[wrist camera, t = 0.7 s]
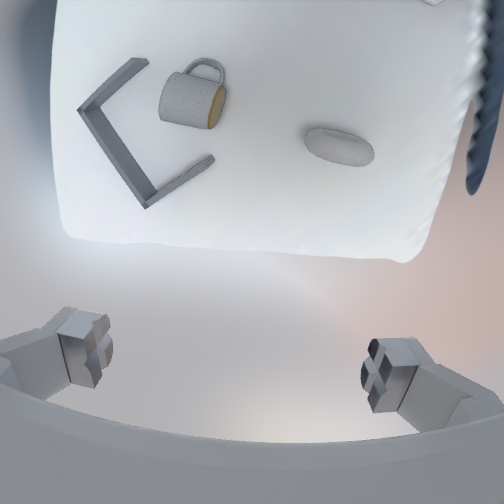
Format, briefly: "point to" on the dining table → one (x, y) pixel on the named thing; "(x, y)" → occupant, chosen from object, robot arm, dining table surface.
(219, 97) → the ceramic mug
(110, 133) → the box
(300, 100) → the dining table surface
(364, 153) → the donut
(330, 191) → the dining table surface
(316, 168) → the dining table surface
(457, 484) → the robot arm
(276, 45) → the dining table surface
